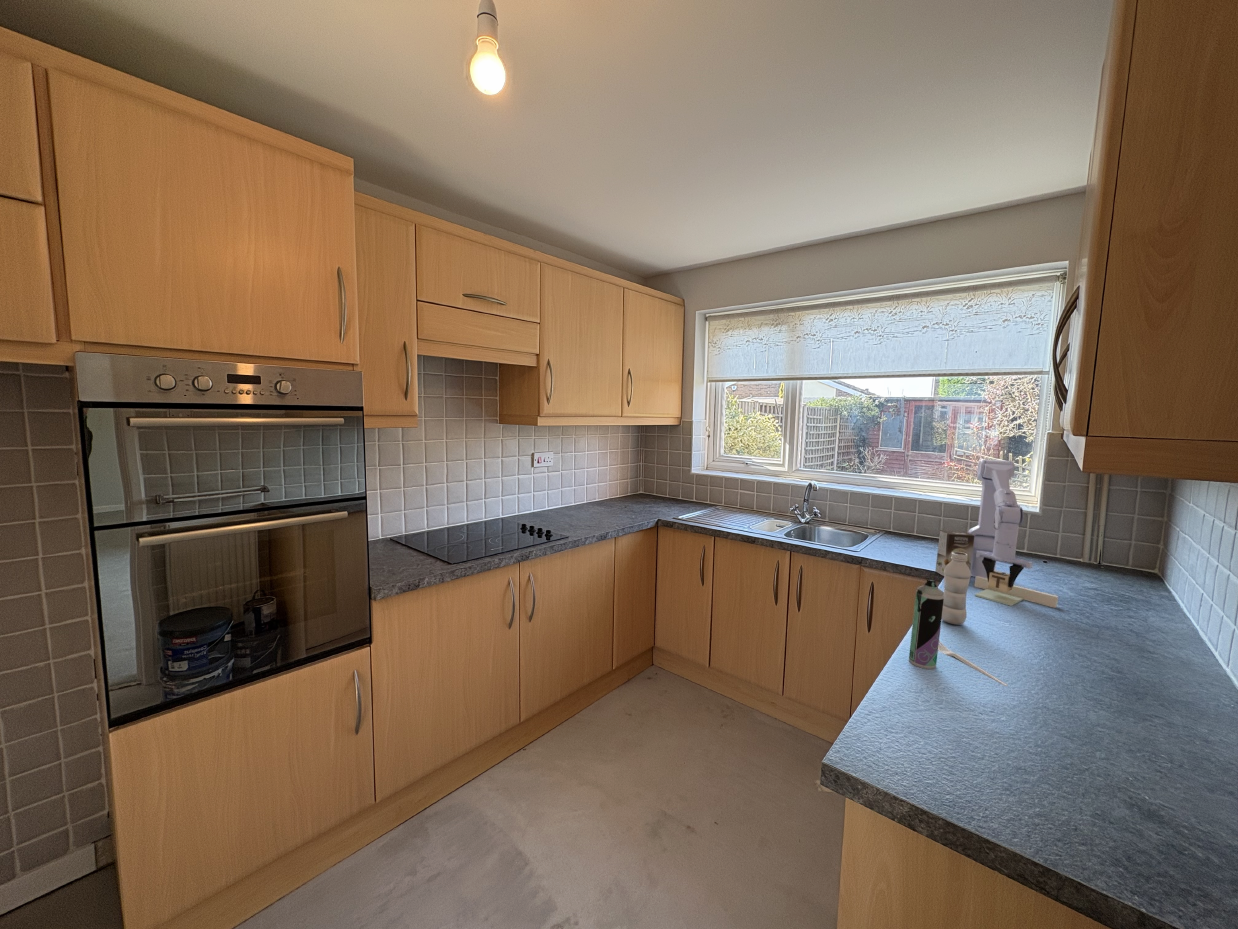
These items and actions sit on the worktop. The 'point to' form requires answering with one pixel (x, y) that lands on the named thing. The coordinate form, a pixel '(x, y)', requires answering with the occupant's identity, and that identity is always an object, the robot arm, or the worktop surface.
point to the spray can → (926, 625)
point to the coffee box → (953, 548)
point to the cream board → (1022, 593)
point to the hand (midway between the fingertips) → (1000, 584)
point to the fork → (966, 661)
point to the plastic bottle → (956, 589)
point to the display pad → (998, 597)
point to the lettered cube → (999, 581)
